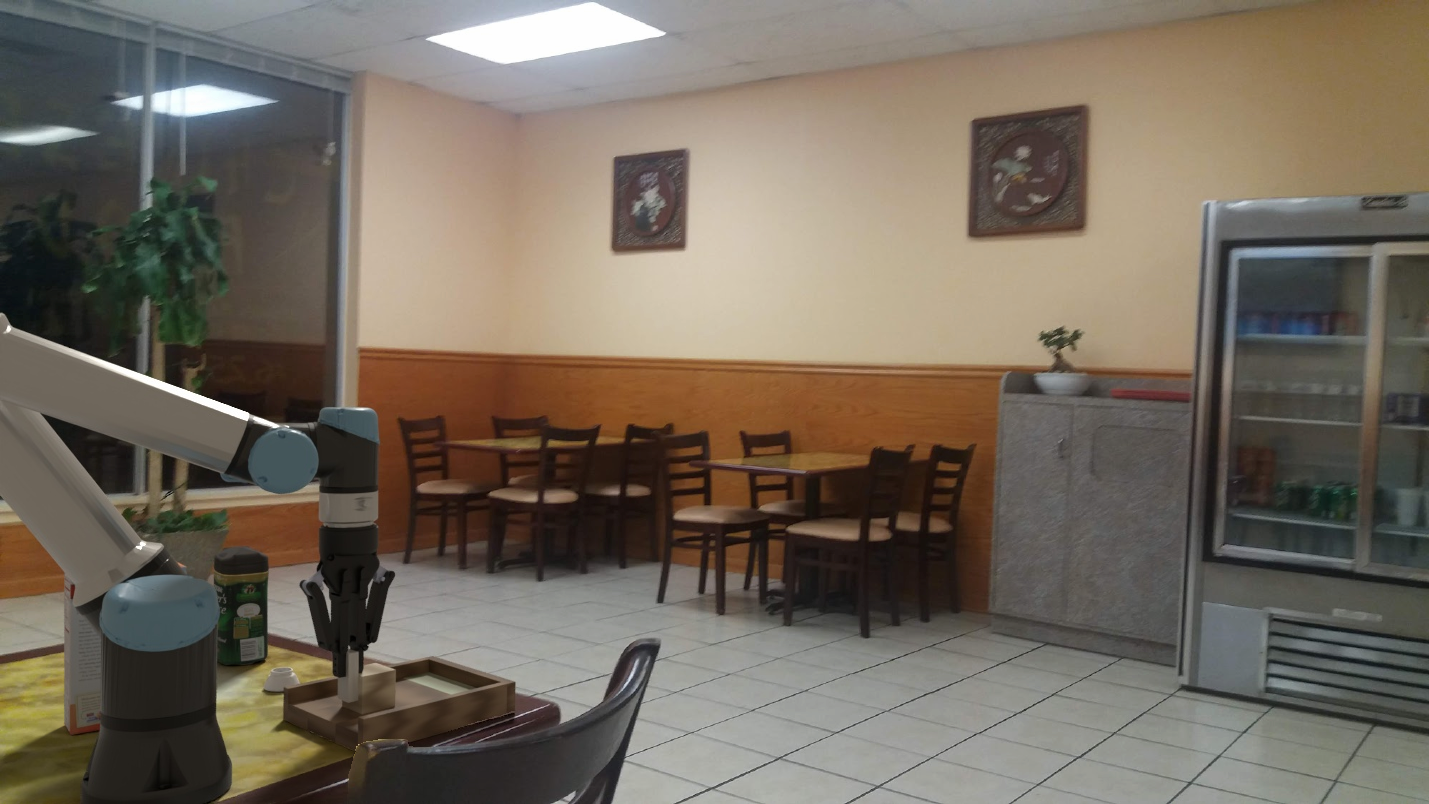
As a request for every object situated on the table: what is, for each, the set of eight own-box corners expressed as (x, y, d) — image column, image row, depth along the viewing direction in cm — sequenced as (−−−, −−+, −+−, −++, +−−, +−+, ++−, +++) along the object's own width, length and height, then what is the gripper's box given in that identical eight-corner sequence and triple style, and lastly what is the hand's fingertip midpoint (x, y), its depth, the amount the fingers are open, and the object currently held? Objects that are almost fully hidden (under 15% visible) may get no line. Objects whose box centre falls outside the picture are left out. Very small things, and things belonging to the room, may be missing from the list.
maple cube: (361, 714, 143) (362, 676, 143) (342, 706, 146) (342, 669, 146) (395, 706, 146) (395, 669, 146) (374, 698, 150) (375, 662, 150)
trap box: (362, 755, 134) (363, 719, 134) (283, 719, 147) (283, 687, 147) (514, 713, 153) (515, 681, 153) (432, 685, 166) (432, 656, 166)
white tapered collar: (289, 694, 160) (305, 685, 165) (289, 675, 160) (305, 666, 165) (257, 693, 160) (274, 683, 165) (257, 673, 160) (274, 664, 165)
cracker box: (176, 706, 152) (178, 559, 152) (186, 717, 147) (189, 565, 147) (61, 724, 143) (63, 568, 143) (68, 736, 139) (70, 575, 138)
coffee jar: (207, 656, 179) (208, 545, 179) (257, 650, 184) (259, 542, 184) (221, 669, 172) (222, 553, 171) (273, 662, 176) (274, 549, 176)
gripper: (317, 530, 136) (316, 716, 136) (407, 521, 146) (406, 694, 146) (288, 524, 141) (287, 704, 141) (377, 516, 150) (376, 684, 151)
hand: (347, 699), depth 144 cm, fingers closed
